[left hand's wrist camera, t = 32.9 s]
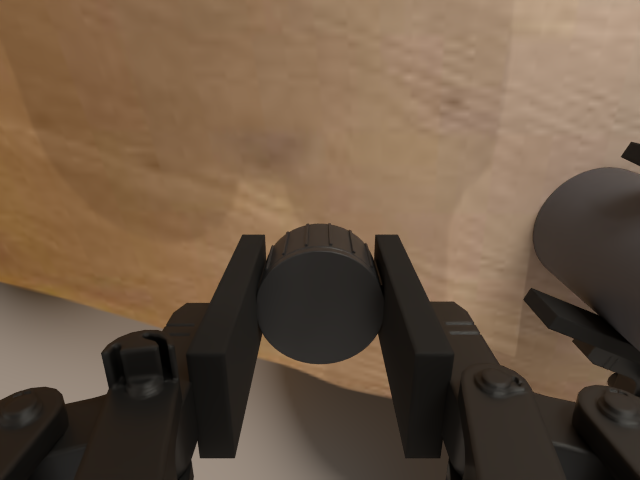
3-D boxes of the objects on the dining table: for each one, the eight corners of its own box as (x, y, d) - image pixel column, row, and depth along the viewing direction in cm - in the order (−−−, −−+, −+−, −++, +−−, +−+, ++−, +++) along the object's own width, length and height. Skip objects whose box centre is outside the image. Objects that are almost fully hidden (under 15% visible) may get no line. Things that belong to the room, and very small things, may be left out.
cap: (270, 212, 14) (260, 239, 12) (388, 230, 14) (400, 260, 12) (257, 315, 15) (246, 356, 13) (365, 330, 15) (372, 373, 13)
